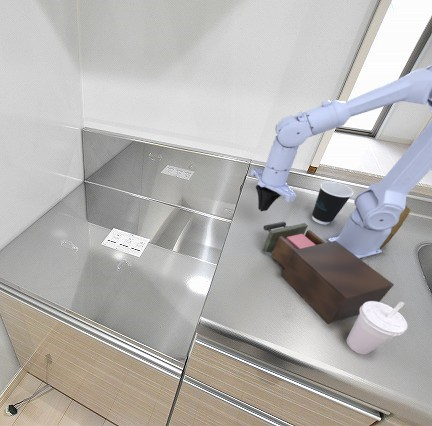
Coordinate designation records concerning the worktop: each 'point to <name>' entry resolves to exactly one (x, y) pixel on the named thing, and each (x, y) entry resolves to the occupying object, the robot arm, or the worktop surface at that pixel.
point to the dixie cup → (330, 201)
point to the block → (299, 241)
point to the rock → (397, 225)
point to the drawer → (280, 244)
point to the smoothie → (375, 326)
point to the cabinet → (334, 280)
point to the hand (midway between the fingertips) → (262, 209)
